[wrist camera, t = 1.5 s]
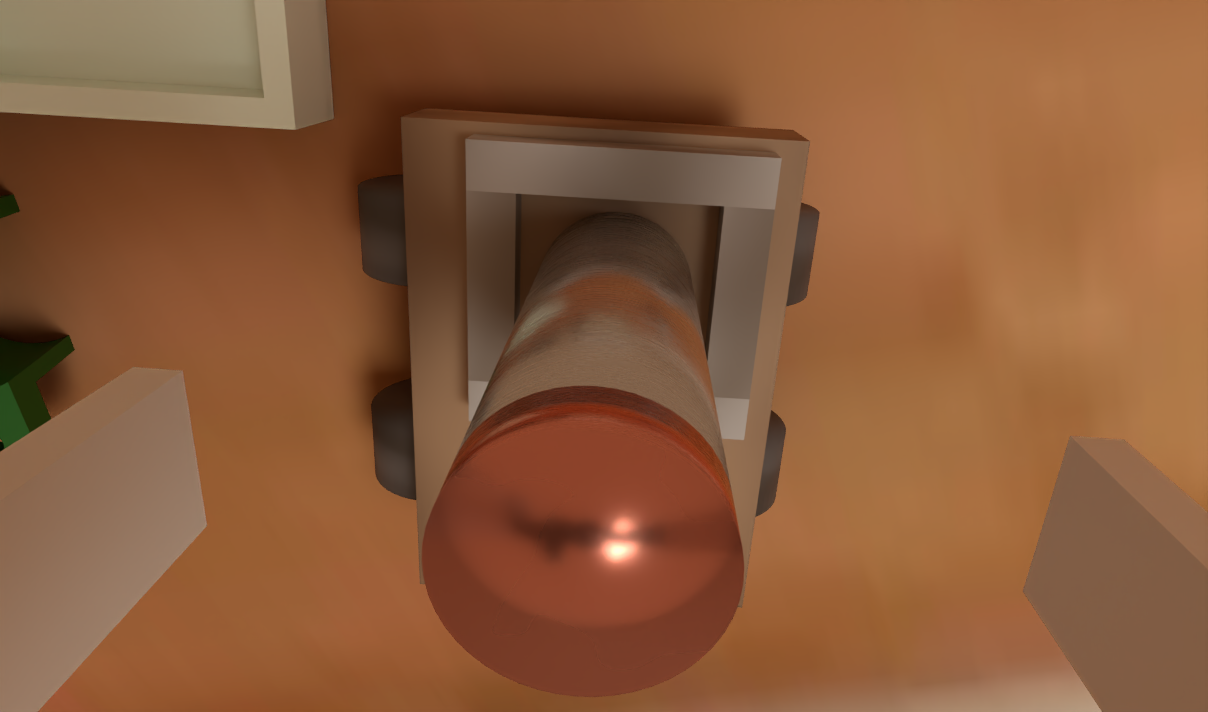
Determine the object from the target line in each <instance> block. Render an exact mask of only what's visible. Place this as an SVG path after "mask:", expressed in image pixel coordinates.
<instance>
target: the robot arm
mask: <svg viewBox="0 0 1208 712" xmlns="http://www.w3.org/2000/svg"><path fill="white" fill-rule="evenodd" d="M206 526H207V523H206V517H205V510H204V504H203V498H202V491H201V485H200V478H199V472H198V466H197V459H196V453H195V447H194V440H193V434H192V427H191V421H190V415H189V408H188V402H187V395H186V389H185V383H184V376H183V371H180V370H167V369H153V368H139V367H132V368H131V369H129V370H127V371H126V372H124V373H123V374H121V375H120V376H118V377H117V378H115V379H113V380H112V381H110V382H109V383H107V384H106V385H104V386H102V387H101V388H99V389H98V390H96V391H95V392H93V393H91V394H90V395H88V396H87V397H85V398H84V399H82V400H81V401H79V402H77V403H76V404H74V405H73V406H71V407H70V408H68V409H66V410H65V411H63V412H62V413H60V414H59V415H57V416H56V417H54V418H52V419H51V420H49V421H48V422H46V423H45V424H43V425H41V426H40V427H38V428H37V429H35V430H34V431H32V432H30V433H29V434H27V435H26V436H24V437H23V438H21V439H20V440H18V441H16V442H15V443H13V444H12V445H10V446H9V447H7V448H5V449H4V450H2V451H1V452H0V712H38V711H39V710H40V709H41V708H42V706H43V705H44V704H45V703H46V702H47V701H48V700H49V699H50V698H51V697H52V695H53V694H54V693H55V692H56V691H57V690H58V689H59V688H60V687H61V686H62V684H63V683H64V682H65V681H66V680H67V679H68V678H69V677H70V676H71V675H72V673H73V672H74V671H75V670H76V669H77V668H78V667H79V666H80V665H81V664H82V662H83V661H84V660H85V659H86V658H87V657H88V656H89V655H90V654H91V653H92V651H93V650H94V649H95V648H96V647H97V646H98V645H99V644H100V643H101V642H102V641H103V639H104V638H105V637H106V636H107V635H108V634H109V633H110V632H111V631H112V630H113V628H114V627H115V626H116V625H117V624H118V623H119V622H120V621H121V620H122V619H123V617H124V616H125V615H126V614H127V613H128V612H129V611H130V610H131V609H132V608H133V606H134V605H135V604H136V603H137V602H138V601H139V600H140V599H141V598H142V597H143V595H144V594H145V593H146V592H147V591H148V590H149V589H150V588H151V587H152V586H153V584H154V583H155V582H156V581H157V580H158V579H159V578H160V577H161V576H162V575H163V573H164V572H165V571H166V570H167V569H168V568H169V567H170V566H171V565H172V564H173V562H174V561H175V560H176V559H177V558H178V557H179V556H180V555H181V554H182V553H183V551H184V550H185V549H186V548H187V547H188V546H189V545H190V544H191V543H192V542H193V541H194V539H195V538H196V537H197V536H198V535H199V534H200V533H201V532H202V531H203V530H204V528H205V527H206ZM1023 592H1024V594H1025V595H1026V597H1027V598H1028V600H1029V601H1030V603H1031V604H1032V606H1033V607H1034V609H1035V610H1036V612H1037V613H1038V615H1039V616H1040V618H1041V620H1042V621H1043V623H1044V624H1045V626H1046V627H1047V629H1048V630H1049V632H1050V633H1051V635H1052V636H1053V638H1054V639H1055V641H1056V642H1057V644H1058V645H1059V647H1060V648H1061V650H1062V651H1063V653H1064V654H1065V656H1066V657H1067V659H1068V661H1069V662H1070V664H1071V665H1072V667H1073V668H1074V670H1075V671H1076V673H1077V674H1078V676H1079V677H1080V679H1081V680H1082V682H1083V683H1084V685H1085V686H1086V688H1087V689H1088V691H1089V692H1090V694H1091V695H1092V697H1093V698H1094V700H1095V702H1096V703H1097V705H1098V706H1099V708H1100V709H1101V711H1102V712H1208V512H1207V511H1206V510H1205V509H1203V508H1202V507H1201V506H1200V505H1199V504H1198V503H1196V502H1195V501H1194V500H1193V499H1192V498H1191V497H1190V496H1188V495H1187V494H1186V493H1185V492H1184V491H1183V490H1182V489H1180V488H1179V487H1178V486H1177V485H1176V484H1175V483H1173V482H1172V481H1171V480H1170V479H1169V478H1168V477H1167V476H1165V475H1164V474H1163V473H1162V472H1161V471H1160V470H1158V469H1157V468H1156V467H1155V466H1154V465H1153V464H1152V463H1150V462H1149V461H1148V460H1147V459H1146V458H1145V457H1143V456H1142V455H1141V454H1140V453H1139V452H1138V451H1137V450H1135V449H1134V448H1133V447H1132V446H1131V445H1130V444H1128V443H1127V442H1126V441H1125V440H1120V439H1107V438H1093V437H1080V436H1070V438H1069V441H1068V445H1067V448H1066V451H1065V455H1064V458H1063V461H1062V464H1061V468H1060V471H1059V474H1058V478H1057V481H1056V484H1055V487H1054V491H1053V494H1052V497H1051V500H1050V504H1049V507H1048V510H1047V514H1046V517H1045V520H1044V523H1043V527H1042V530H1041V533H1040V537H1039V540H1038V543H1037V546H1036V550H1035V553H1034V556H1033V560H1032V563H1031V566H1030V569H1029V573H1028V576H1027V579H1026V583H1025V586H1024V589H1023Z"/></svg>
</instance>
